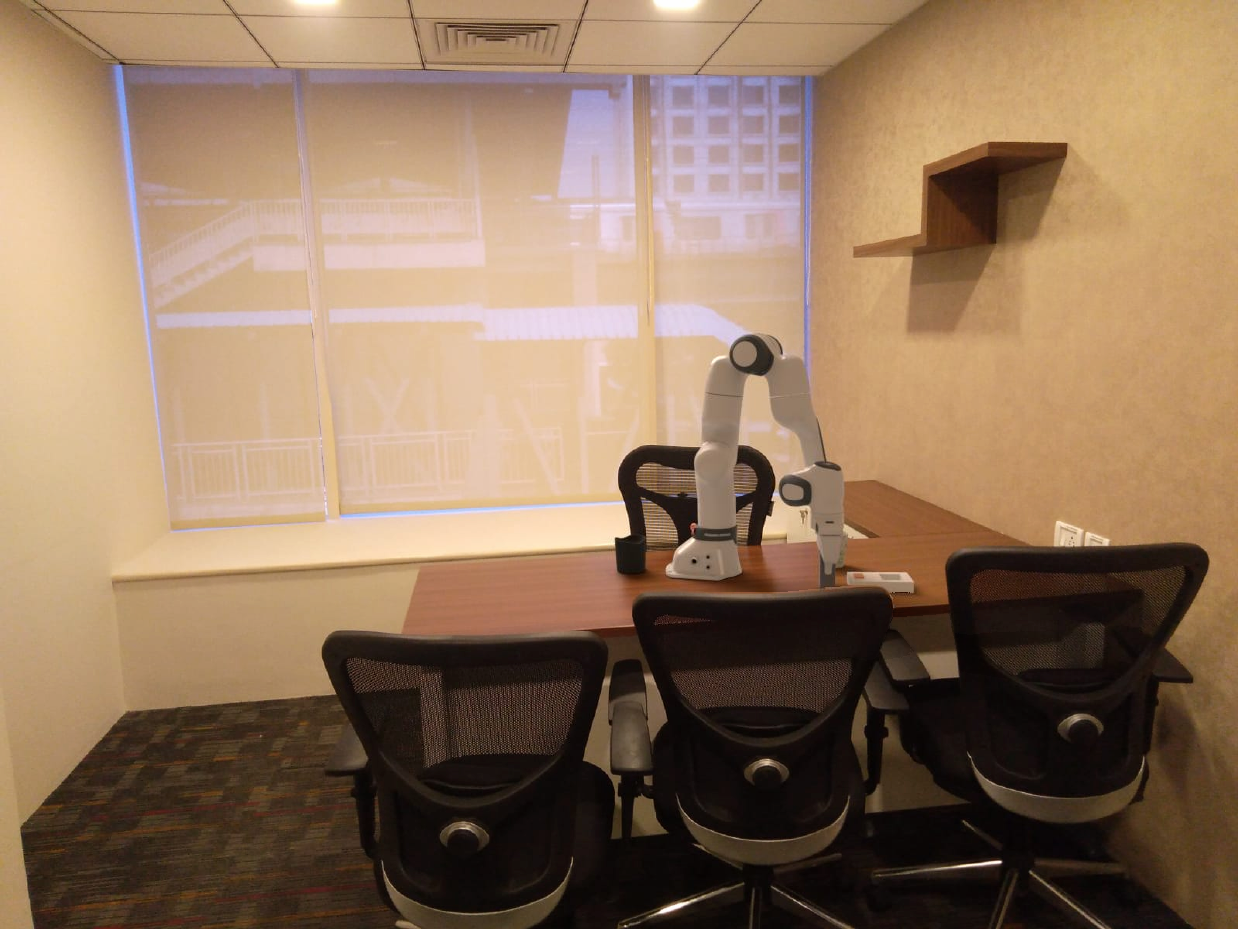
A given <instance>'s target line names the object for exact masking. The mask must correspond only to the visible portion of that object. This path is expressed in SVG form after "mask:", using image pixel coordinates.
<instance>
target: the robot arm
mask: <svg viewBox="0 0 1238 929" xmlns="http://www.w3.org/2000/svg"><path fill="white" fill-rule="evenodd" d="M804 362H805V361H804V360H803V359H802V358H801V357H799V356H798V355H795V354H784V350H783V346H782V343H780V341H779V340H778V339H777V338H776V337H774V336H772V335H769V334H765V333H751V334H750V333H749V334H748V333H747V334H743V335H741V336H739V337H738V338H736V339H735V340H734V341H733V343H732V344H731V345H730V348H729V354H721V355H718V356H716V357H714V358H713V359H712V361H711V362H710V366H709V369H708V373H707V376H706V377H707V378H706V381H705V382H706V383H705V385H704V386H705V387H704V393H703V395H704V396H703V405H702V413H701V436H700V437H701V438H700V448H699V449H698V451H697V452H696V454H695V456H694V462H693V464H694V479H695V488H696V495H697V496H696V497H697V523H694V522H693V523H691V525H690V527H689V528H690V531H691V532H690V534H691V537H689V539H688V540H686V541H684V542H683V543H682V544H680V546H678V548H676V550H675V551H674V553H673V558H672V562H670V563H669V564H667V565H666V568H665V574H666V576H668V577H669V578H675V579H690V580H705V581H721V580H724V579H726V578H733V577H736V576H738V575H740V574H742V573H743V570H742V567H741V563H740V558H739V553H738V552H739V551H738V541H739V530H738V524H737V522H736V521H737V519H736V518H737V516H736V515H737V514H736V513H737V511H736V507H737V506H736V505H737V502H736V492H735V491H736V490H735V480H734V476H735V475H734V468H735V466H736V465H737V460H738V452H739V450H738V449H739V443H740V442H739V441H740V440H739V439H740V429H741V428H740V426H741V416H742V408H743V400H744V399H743V398H744V392H745V391H744V389H745V384H746V381H747V380H748V378H749V376H750V375H753V376H758V377H764V378H765V379H766V381H767V385H768V391H769V395H768V396H769V403H770V405H769V406H770V411H771V413H772V416H773V419H774V421H775V422H776V423H777V424H779V425H780V426H782V427H784V428H786V429H787V430H790V431H791V432H793V433H794V434H795V435H796V436H797V438H798V439H799V442H800V449H801V453H802V458H803V463H804V467H803V469H800V470H797V471H792V472H790V473H788V474H787V473H786V474H785V475H784V476H783V477H782V478H781V479H780V480H779V484H778V495H779V497H780V499H781V501H782V502H783V503H784V504H785V505H787V506H789V507H794V508H798V507H799V508H800V507H804V506H805V507H806V506H807V507H809V509H810V522H809V523H810V524H809V525H810V528H811V529H812V530H814V533H815V535H816V546H817V548H818V551H819V550H820V553H821V556H822V558H823V561H824V563H825V567H824V572H825V574H831V573H832V565H833V564H837V563H838V560H839V553H840V541H841V535H843V531H844V529H845V507H844V505H843V504H844V502H843V501H844V497H845V477H844V473H843V469H842V467H841V466H840V465H838V464H837V463H835V462H831V461H828V460H827V457H826V451H825V447H824V440H823V436H822V432H821V426H820V423H819V420H818V418H817V416H816V413H815V410H814V407H813V406H814V405H813V402H812V396H811V387H810V382H809V381H810V380H809V376H808V372H807V368H806V365H805V363H804Z"/></svg>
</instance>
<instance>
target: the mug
mask: <svg viewBox="0 0 1238 929" xmlns="http://www.w3.org/2000/svg"><path fill="white" fill-rule="evenodd" d="M848 539H849V533H848V532H846V531H845V530H843V535H841V541H840V553H839V560H838V563H837V564H835V569H841V568H844V566H845V559H846V552H847V546H848Z"/></svg>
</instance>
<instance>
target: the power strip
mask: <svg viewBox="0 0 1238 929" xmlns="http://www.w3.org/2000/svg"><path fill="white" fill-rule="evenodd" d="M846 584H847V586H848V585H877V586H882V587H884V588H885V589H887V590H888V591H889V592H890V594H896V593H895V592H908V593H907V594H914V592H915V586H914V585H915V581H914V580H913V579H912V577H911V576H910V575H909V573H908V572H907V571H906V572H905V571H904V572H897V571H896V572H893V571H891V572H889V571H888V572H887V571H886V572H884V571H883V572H882V571H881V572H880V571H873V572H872V571H847V572H846ZM892 592H893V593H892ZM909 592H910V593H909Z"/></svg>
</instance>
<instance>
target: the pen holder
mask: <svg viewBox="0 0 1238 929" xmlns="http://www.w3.org/2000/svg"><path fill="white" fill-rule="evenodd" d="M646 541H647V536H645V535H641V534H629V535H627V536H624V537H618V536H617V537H614V551H615V563H616V570H617V572H619V573H621V574H626V575H631V574H633V575H634V574H640V573H643V572H644V571H645V570H646V566H647V565H646V563H647V562H646V560H647V559H646V557H647V556H646V555H647V554H646V553H647V547H646V546H647V544H646V543H647V542H646Z"/></svg>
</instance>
